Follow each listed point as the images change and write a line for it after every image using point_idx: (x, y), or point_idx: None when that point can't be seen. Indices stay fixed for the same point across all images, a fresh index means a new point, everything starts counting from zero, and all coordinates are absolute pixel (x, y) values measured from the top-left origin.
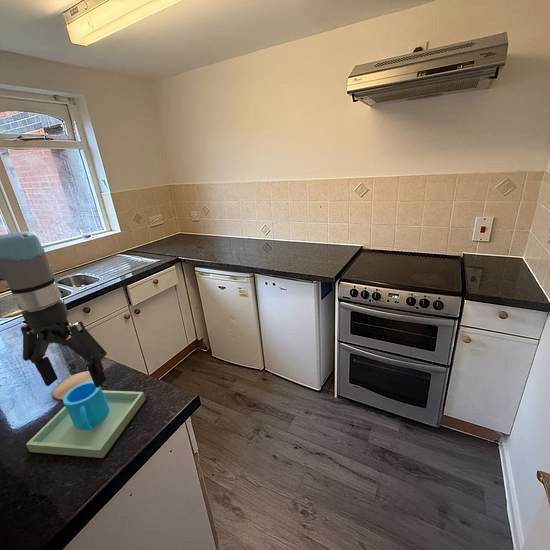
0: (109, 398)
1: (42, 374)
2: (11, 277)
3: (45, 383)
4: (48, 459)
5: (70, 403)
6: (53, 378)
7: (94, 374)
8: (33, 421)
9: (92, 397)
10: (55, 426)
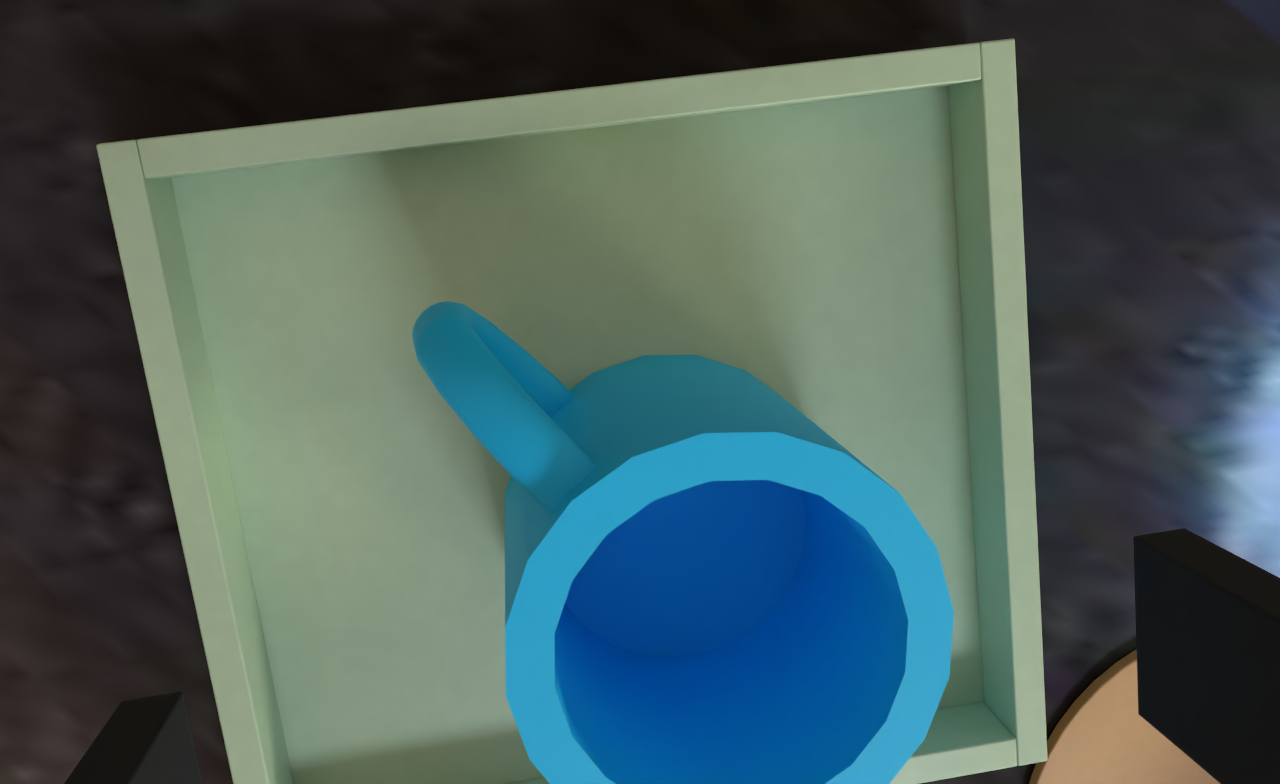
0: None
1: None
2: None
3: (1207, 549)
4: (700, 22)
5: (716, 456)
6: (1170, 677)
7: None
8: (1267, 343)
9: (508, 618)
10: (962, 333)
